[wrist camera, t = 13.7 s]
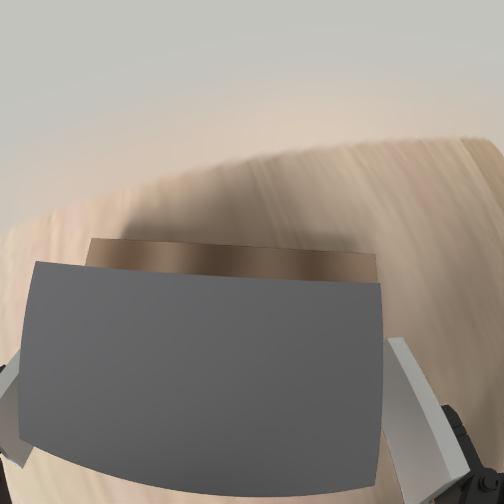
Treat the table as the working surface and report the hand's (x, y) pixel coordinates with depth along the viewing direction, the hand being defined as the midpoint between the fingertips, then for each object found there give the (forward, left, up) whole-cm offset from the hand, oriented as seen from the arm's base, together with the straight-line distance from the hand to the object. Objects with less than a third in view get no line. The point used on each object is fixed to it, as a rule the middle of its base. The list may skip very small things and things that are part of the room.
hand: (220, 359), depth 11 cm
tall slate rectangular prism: (0, +1, -6) cm, 6 cm away
